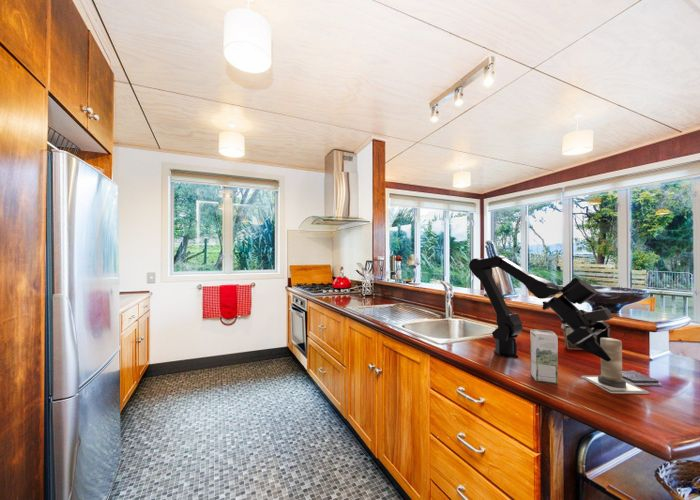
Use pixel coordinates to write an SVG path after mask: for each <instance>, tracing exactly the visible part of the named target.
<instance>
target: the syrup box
mask: <svg viewBox="0 0 700 500" xmlns="http://www.w3.org/2000/svg"><path fill="white" fill-rule="evenodd" d="M529 330H530V335H529V336H530V337H529V338H530V341H529V342H530V374H531V376H532V377H533V379H534V380H535V382H540V383H541V382H542V383H549V384H558V382H559V380H558V379H559V376H558V375H559V374H558V373H559V360H558V358H559V357H558V356H559V355H558V354H559V347H558V345H559V342H558V341H559V339H558V335H557V333H555V332H554V331H552V330H546V329H533V328H532V329H531V328H530V329H529Z"/></svg>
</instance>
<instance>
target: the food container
mask: <svg viewBox="0 0 700 500" xmlns="http://www.w3.org/2000/svg"><path fill="white" fill-rule="evenodd" d="M560 329H562V330H563V340H564V345H565V349H568V350H582V349H581V348H579V347H576V345H577V344H579V343H578V342H577V343H576V344H574V345H571V344H570V343H569V342H568V341H567V335H569V334H570V333H572V332H573V330H572V329H571V328H570V327H569V326H568V325H567V324H563V323H561V326H560Z"/></svg>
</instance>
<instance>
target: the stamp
mask: <svg viewBox="0 0 700 500" xmlns="http://www.w3.org/2000/svg"><path fill="white" fill-rule="evenodd" d="M600 346H601V347H602V348H603V349H604V351H605V352H606V353H607V354H608V356H609V357H610V358H611V360H610V361H605V360H603V359H602V358H600V374H598V375H597V376H598V381H599V382H600V383H602V384H604V385H607V386H611V387H616V388H625V387H626V381H624V380H623V379H622V371H623V342H622V340H620V339H616V338H612V337H611V338H600Z"/></svg>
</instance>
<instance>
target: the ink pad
mask: <svg viewBox="0 0 700 500" xmlns="http://www.w3.org/2000/svg"><path fill="white" fill-rule="evenodd" d="M622 379H623V380H624V381H626V382H629V383H631V384H633V385H635V386H662V385H663V384H662V383H661V382H660V381H659V380H657V379H655V378H653V377H650V376H648V375H645V374H643V373H641V372H638V371H635V370H622Z"/></svg>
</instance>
